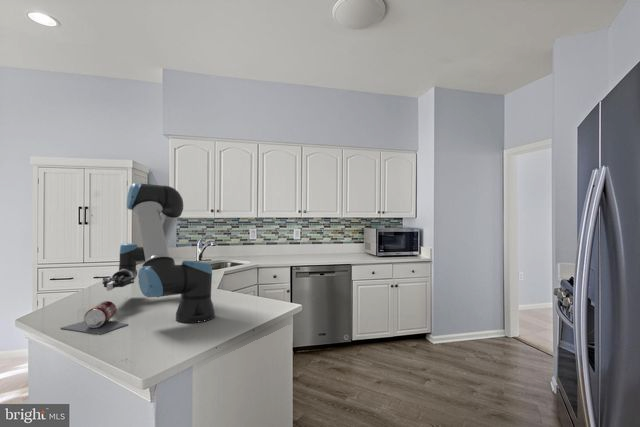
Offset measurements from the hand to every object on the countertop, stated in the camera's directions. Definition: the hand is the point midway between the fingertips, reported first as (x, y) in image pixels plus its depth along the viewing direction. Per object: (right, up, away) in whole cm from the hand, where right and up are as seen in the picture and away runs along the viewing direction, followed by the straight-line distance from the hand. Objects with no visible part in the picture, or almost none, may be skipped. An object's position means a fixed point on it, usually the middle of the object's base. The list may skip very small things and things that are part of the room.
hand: (108, 287), depth 138 cm
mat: (+4, -12, -14) cm, 19 cm away
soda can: (+3, -8, -6) cm, 10 cm away
